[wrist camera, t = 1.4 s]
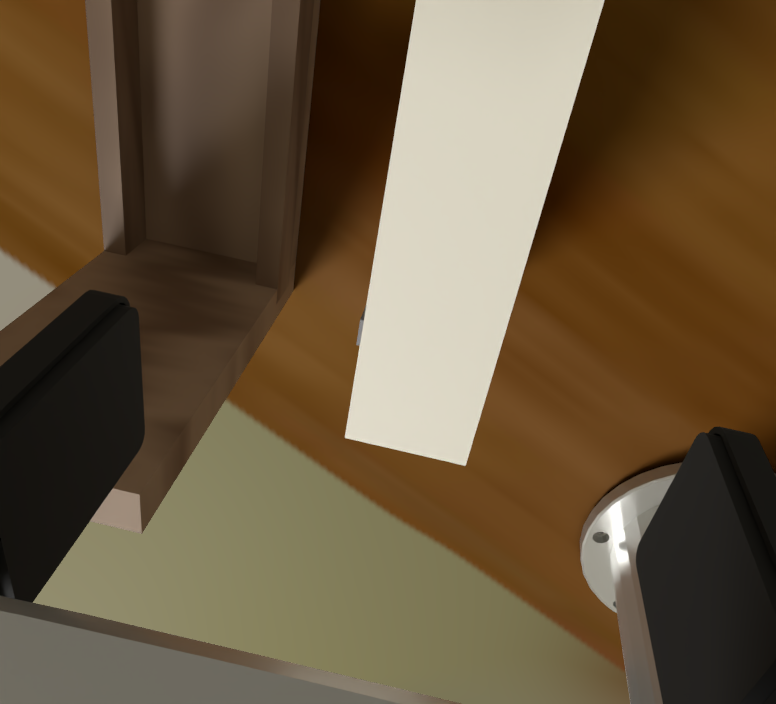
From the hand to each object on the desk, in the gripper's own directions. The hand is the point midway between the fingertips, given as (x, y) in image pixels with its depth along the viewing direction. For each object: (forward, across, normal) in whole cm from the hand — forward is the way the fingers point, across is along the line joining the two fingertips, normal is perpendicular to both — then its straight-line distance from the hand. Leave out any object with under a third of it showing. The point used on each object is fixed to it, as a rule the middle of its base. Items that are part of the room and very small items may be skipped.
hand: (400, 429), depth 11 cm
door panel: (+20, 0, 0) cm, 20 cm away
